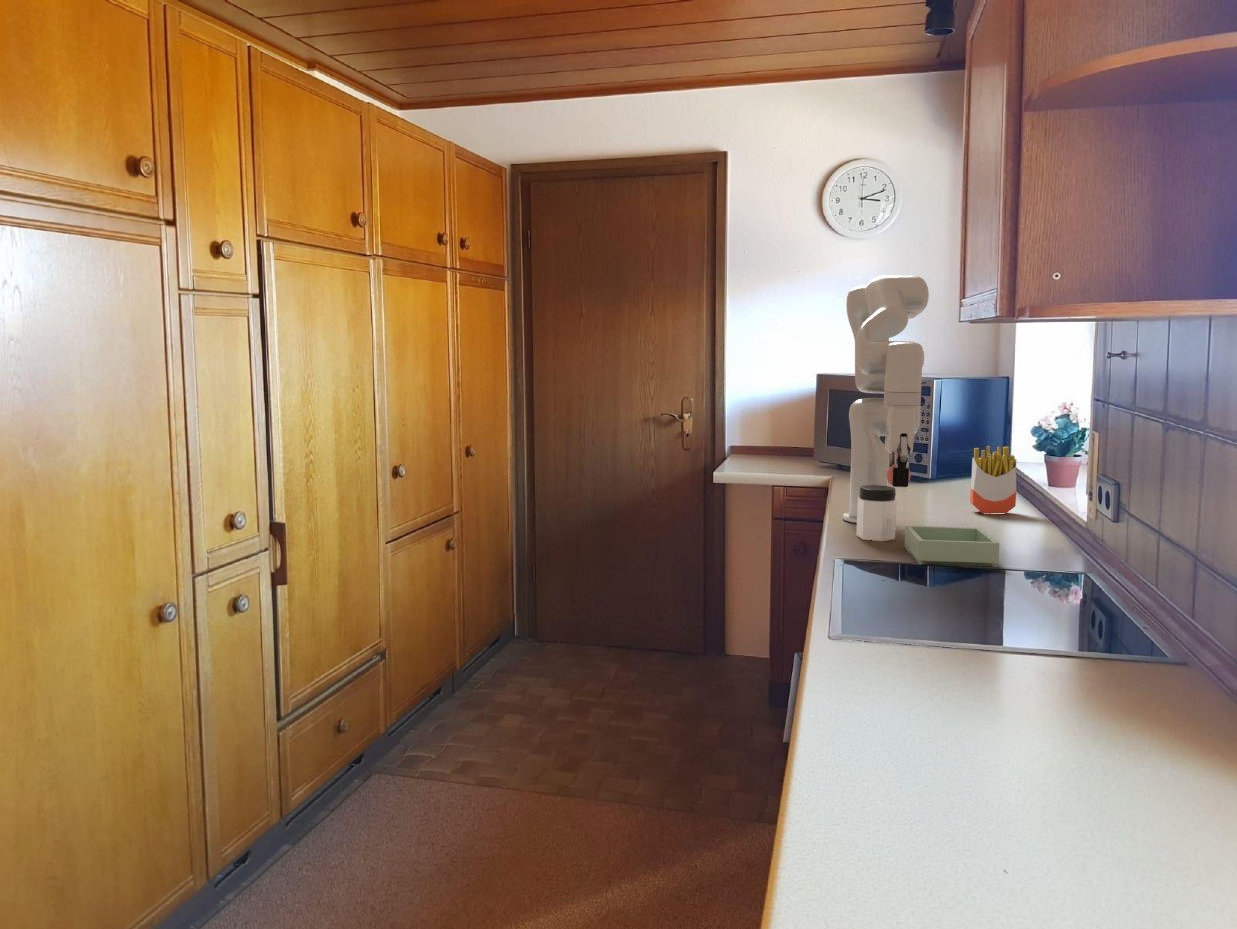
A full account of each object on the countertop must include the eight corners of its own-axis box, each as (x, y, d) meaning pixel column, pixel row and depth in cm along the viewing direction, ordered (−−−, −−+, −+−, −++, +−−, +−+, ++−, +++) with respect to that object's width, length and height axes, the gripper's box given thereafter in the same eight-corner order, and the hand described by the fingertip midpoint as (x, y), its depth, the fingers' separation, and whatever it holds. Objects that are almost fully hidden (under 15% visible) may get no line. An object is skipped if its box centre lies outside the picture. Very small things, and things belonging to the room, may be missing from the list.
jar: (876, 543, 214) (878, 491, 212) (849, 536, 221) (851, 486, 219) (902, 538, 219) (904, 488, 217) (875, 532, 226) (877, 483, 224)
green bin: (904, 547, 209) (905, 525, 209) (978, 549, 207) (979, 527, 207) (917, 564, 194) (918, 540, 193) (997, 567, 192) (999, 543, 191)
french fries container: (1015, 515, 249) (1019, 448, 247) (972, 513, 251) (976, 447, 249) (1011, 512, 254) (1015, 446, 251) (969, 510, 256) (973, 445, 253)
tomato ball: (884, 484, 204) (885, 462, 204) (908, 485, 203) (909, 462, 203) (887, 488, 199) (888, 465, 199) (911, 488, 198) (912, 465, 198)
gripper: (879, 398, 208) (876, 478, 210) (888, 402, 191) (885, 490, 194) (914, 398, 207) (910, 479, 209) (926, 403, 190) (922, 491, 192)
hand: (898, 483), depth 201 cm, fingers closed on tomato ball, 4 cm apart
